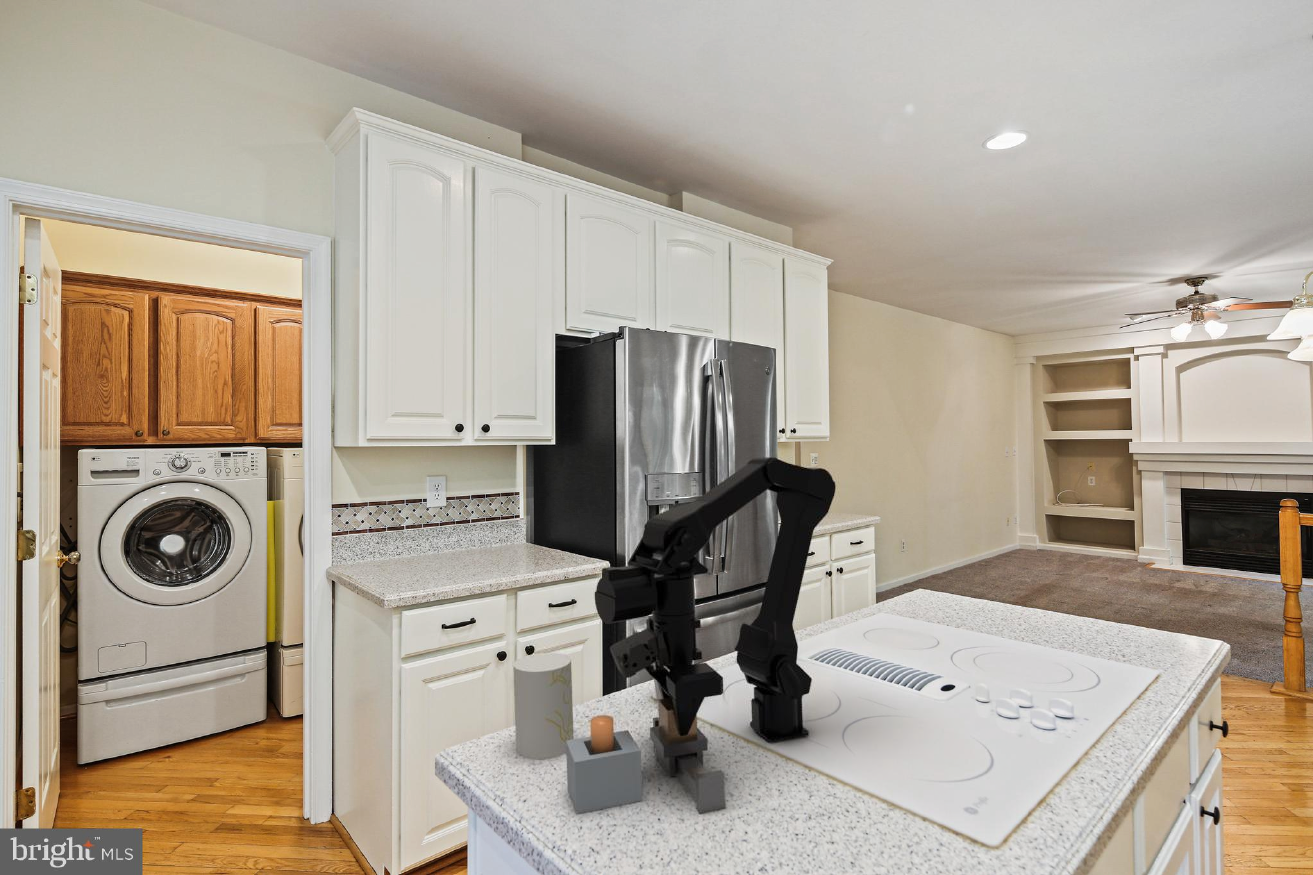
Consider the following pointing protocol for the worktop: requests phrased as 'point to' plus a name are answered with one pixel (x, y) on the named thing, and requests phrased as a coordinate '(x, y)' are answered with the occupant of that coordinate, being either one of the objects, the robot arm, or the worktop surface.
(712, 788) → the rail
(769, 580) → the robot arm
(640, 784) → the grey hollow block
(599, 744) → the button
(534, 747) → the cup
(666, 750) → the carriage
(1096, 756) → the worktop surface
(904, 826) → the worktop surface
